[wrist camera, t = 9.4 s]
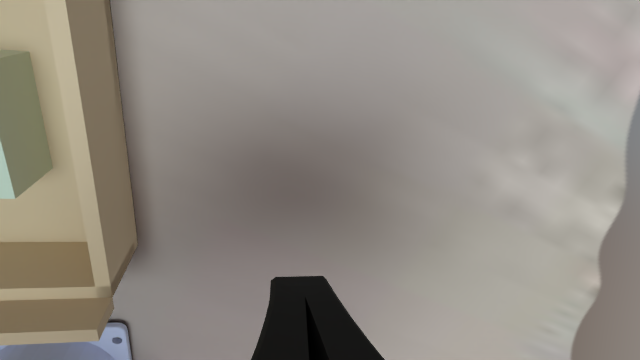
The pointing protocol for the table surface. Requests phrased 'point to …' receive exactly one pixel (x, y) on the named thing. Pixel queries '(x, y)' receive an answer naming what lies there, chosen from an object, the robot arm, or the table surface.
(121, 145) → the beige shallow box
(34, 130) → the packed item
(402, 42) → the table surface
